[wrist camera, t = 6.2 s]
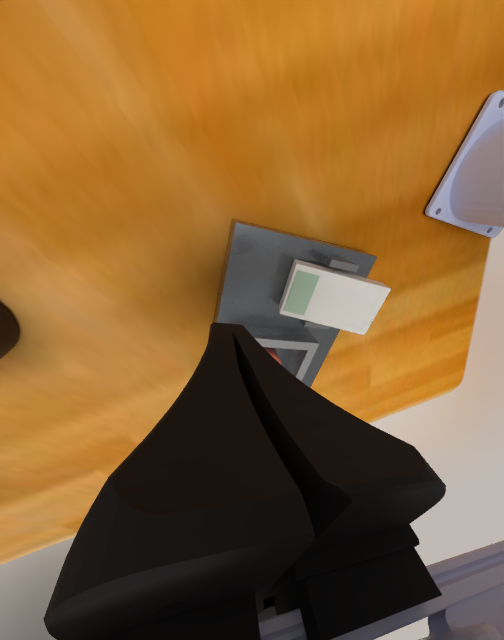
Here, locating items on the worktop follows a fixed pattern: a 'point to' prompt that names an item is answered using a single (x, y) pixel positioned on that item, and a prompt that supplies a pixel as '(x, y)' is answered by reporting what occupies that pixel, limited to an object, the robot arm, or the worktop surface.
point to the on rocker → (332, 297)
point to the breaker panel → (279, 292)
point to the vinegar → (7, 332)
